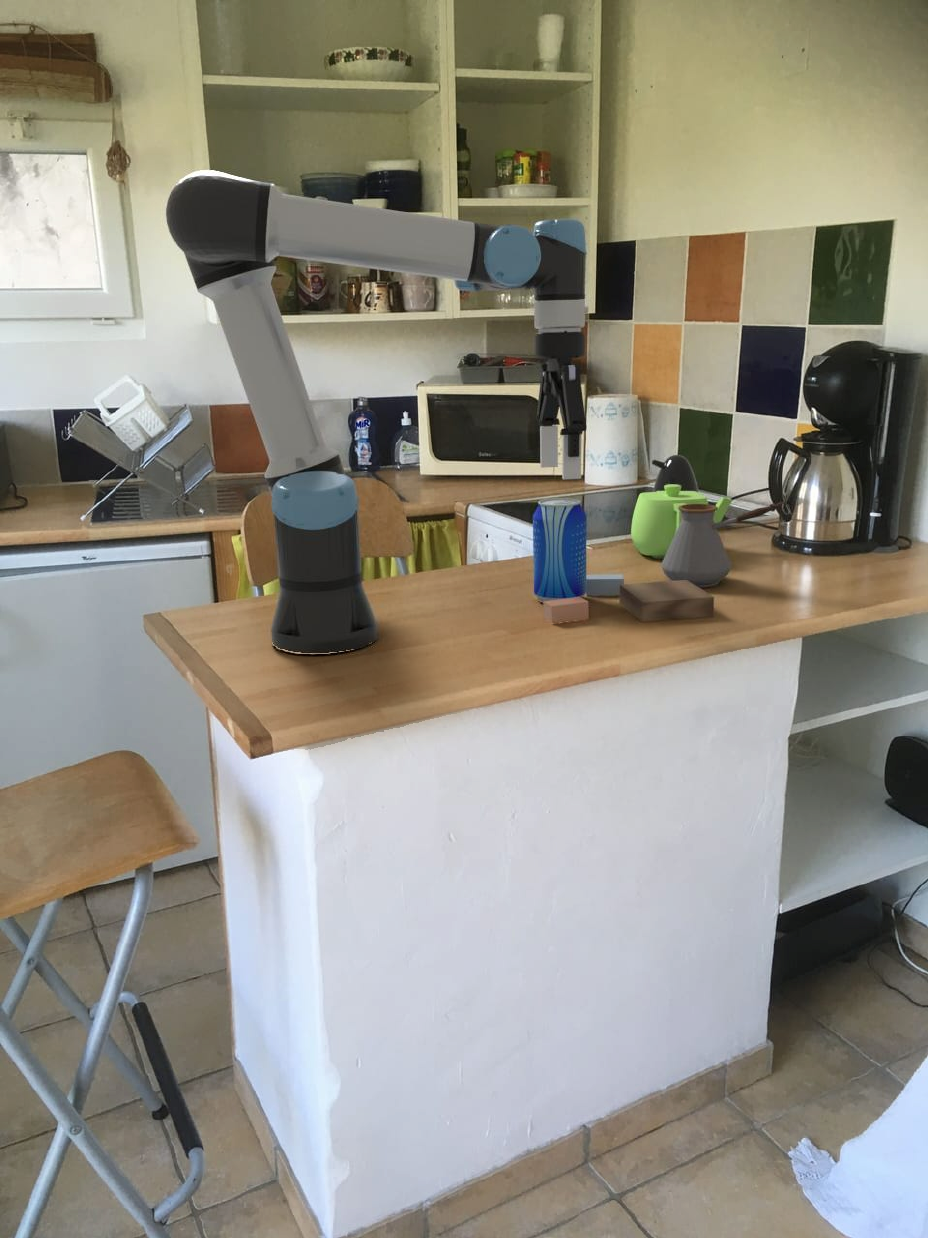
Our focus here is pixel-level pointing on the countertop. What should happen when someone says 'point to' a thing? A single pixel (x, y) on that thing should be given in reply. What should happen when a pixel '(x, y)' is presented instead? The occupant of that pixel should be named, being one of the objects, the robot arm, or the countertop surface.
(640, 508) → the teapot
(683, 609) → the walnut slab
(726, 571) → the coffee pot
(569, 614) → the terracotta brick
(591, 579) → the greyblue brick
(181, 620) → the countertop surface
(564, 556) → the beer can
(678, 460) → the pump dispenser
